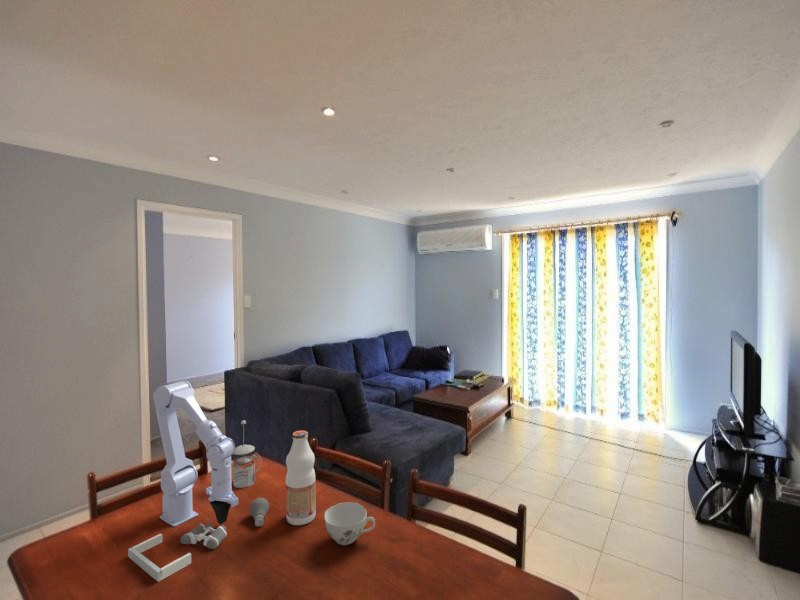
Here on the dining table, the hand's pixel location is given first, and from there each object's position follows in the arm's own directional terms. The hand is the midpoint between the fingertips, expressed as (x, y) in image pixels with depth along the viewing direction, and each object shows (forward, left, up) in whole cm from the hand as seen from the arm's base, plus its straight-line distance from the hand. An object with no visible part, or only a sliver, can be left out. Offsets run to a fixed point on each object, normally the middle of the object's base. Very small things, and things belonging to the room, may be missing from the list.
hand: (222, 522), depth 124 cm
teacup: (+38, +17, -2) cm, 42 cm away
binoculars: (+2, -6, -2) cm, 7 cm away
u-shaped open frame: (0, -16, -2) cm, 16 cm away
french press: (-18, +21, -2) cm, 28 cm away
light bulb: (+11, +6, 0) cm, 12 cm away
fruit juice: (+17, +17, -2) cm, 24 cm away
